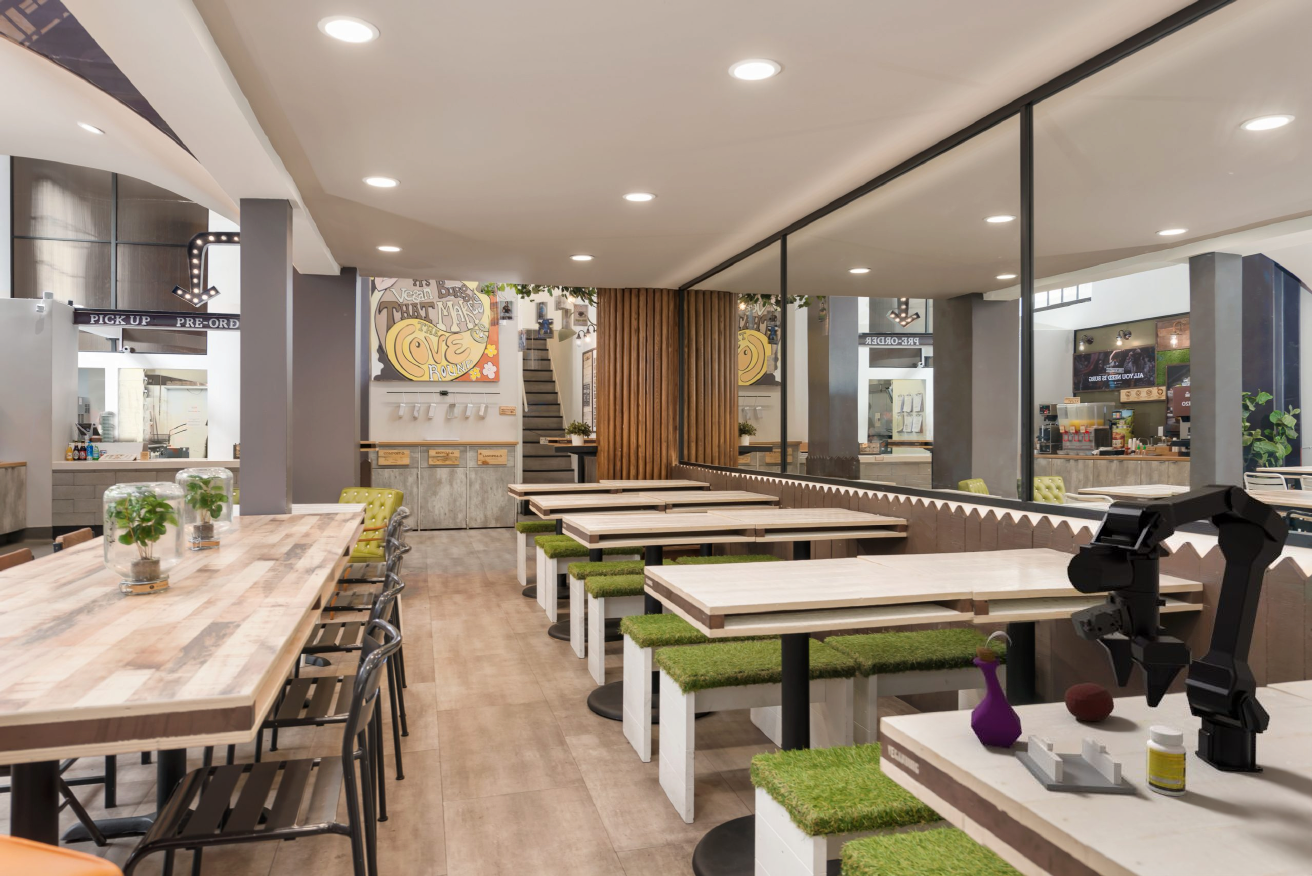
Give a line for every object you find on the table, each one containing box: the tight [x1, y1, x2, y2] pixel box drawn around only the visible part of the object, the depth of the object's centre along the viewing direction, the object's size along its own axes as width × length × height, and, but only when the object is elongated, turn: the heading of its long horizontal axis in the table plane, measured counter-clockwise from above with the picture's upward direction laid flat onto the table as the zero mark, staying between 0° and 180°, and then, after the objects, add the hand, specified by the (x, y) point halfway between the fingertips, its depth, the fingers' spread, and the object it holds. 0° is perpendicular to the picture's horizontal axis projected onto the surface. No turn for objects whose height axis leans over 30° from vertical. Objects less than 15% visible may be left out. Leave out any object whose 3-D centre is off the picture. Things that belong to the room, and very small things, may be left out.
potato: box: [1064, 682, 1115, 722], centre depth 144 cm, size 7×10×6 cm
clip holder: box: [1015, 734, 1137, 795], centre depth 119 cm, size 12×12×5 cm
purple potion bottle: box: [970, 630, 1023, 749], centre depth 131 cm, size 8×8×18 cm
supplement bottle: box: [1145, 725, 1187, 797], centre depth 114 cm, size 5×5×8 cm
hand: (1136, 696), depth 117 cm, fingers open, 9 cm apart
